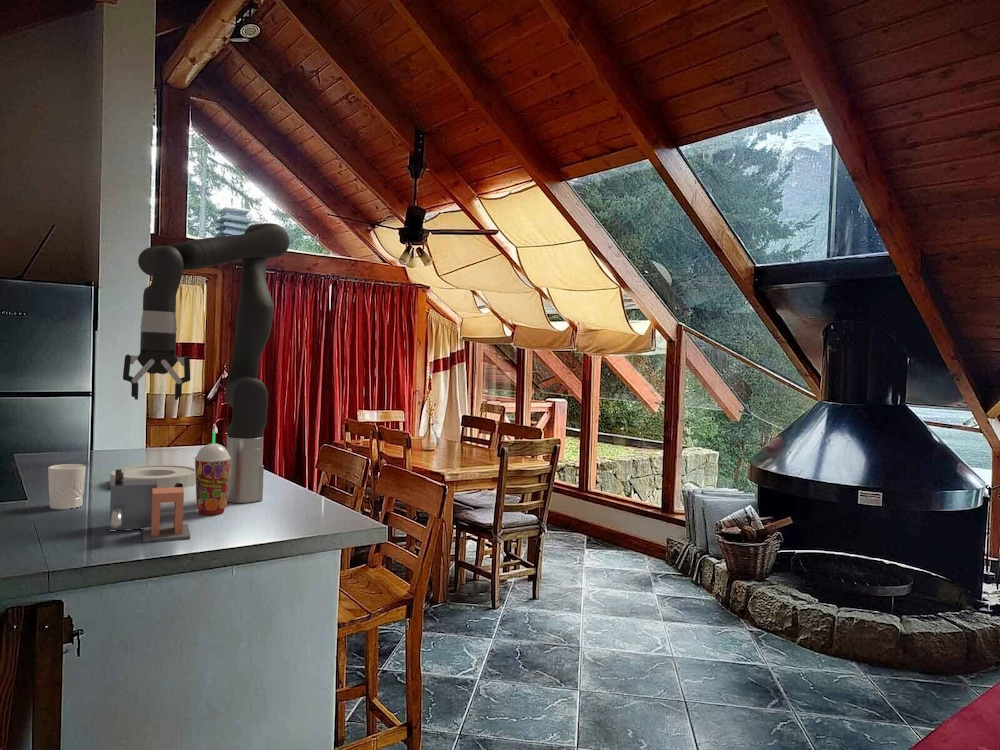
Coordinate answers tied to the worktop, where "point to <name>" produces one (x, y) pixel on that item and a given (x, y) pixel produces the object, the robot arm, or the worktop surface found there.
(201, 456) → the smoothie
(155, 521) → the notched orange block
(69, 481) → the white cup
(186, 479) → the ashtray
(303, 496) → the worktop surface
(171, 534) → the mat
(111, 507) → the vise block
